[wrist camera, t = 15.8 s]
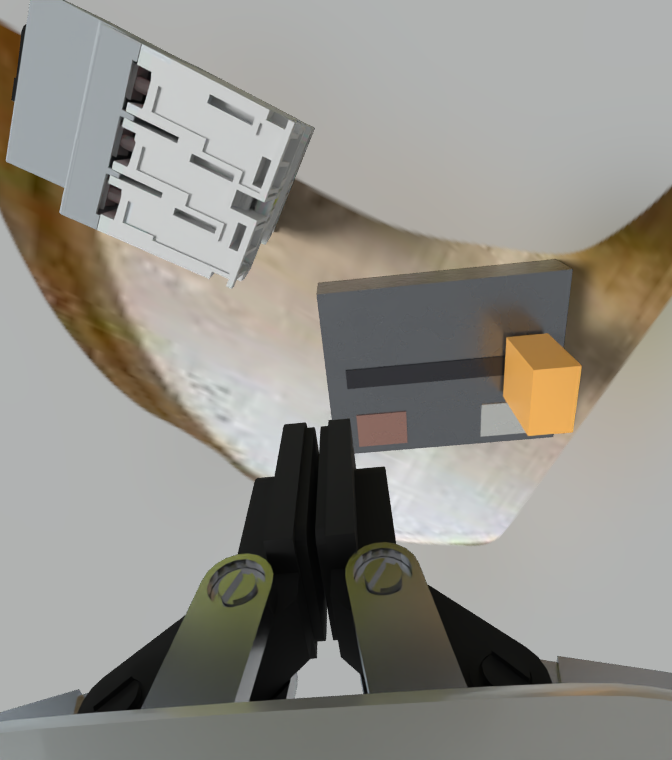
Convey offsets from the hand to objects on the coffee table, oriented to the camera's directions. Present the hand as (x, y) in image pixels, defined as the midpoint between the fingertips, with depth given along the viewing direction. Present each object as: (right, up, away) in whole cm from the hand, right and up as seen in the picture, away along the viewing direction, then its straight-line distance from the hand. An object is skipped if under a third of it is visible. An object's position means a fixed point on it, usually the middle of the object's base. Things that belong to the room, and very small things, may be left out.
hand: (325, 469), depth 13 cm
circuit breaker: (-9, +19, +21) cm, 30 cm away
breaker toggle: (+15, +3, +25) cm, 29 cm away
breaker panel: (+9, +4, +28) cm, 30 cm away
